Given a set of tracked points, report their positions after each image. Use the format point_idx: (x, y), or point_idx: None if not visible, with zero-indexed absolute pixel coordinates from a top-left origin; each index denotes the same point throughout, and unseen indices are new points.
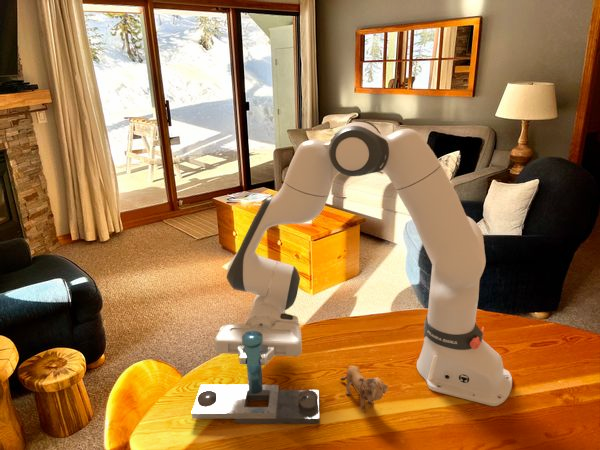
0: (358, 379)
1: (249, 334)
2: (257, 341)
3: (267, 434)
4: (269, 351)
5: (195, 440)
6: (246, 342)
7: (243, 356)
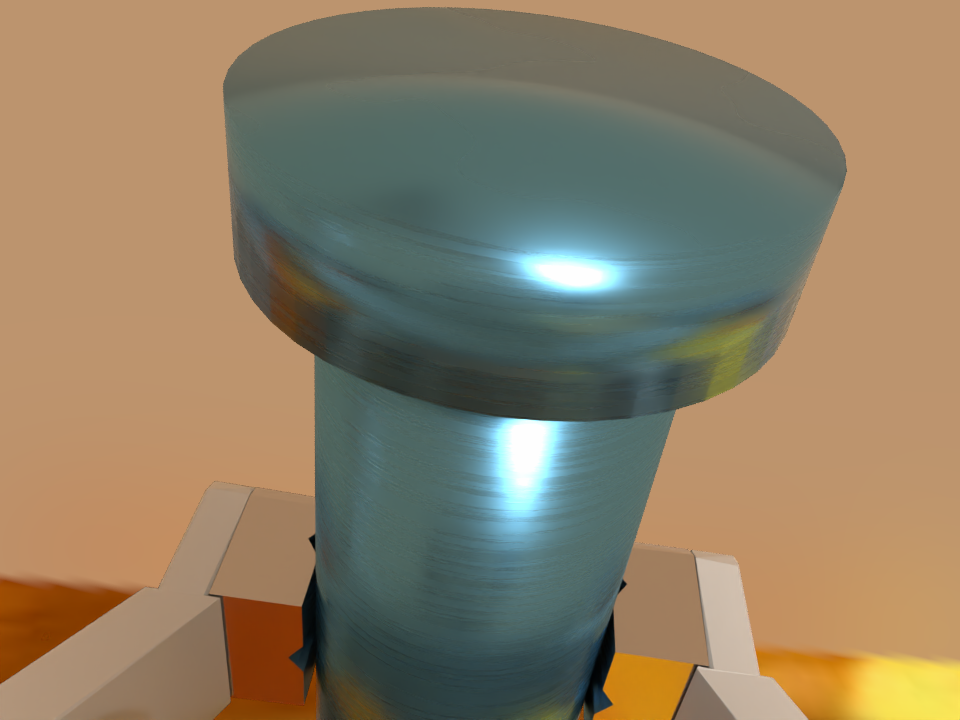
0: None
1: (646, 152)
2: (382, 10)
3: (311, 687)
4: (92, 654)
5: (836, 683)
6: (636, 44)
7: (669, 575)
